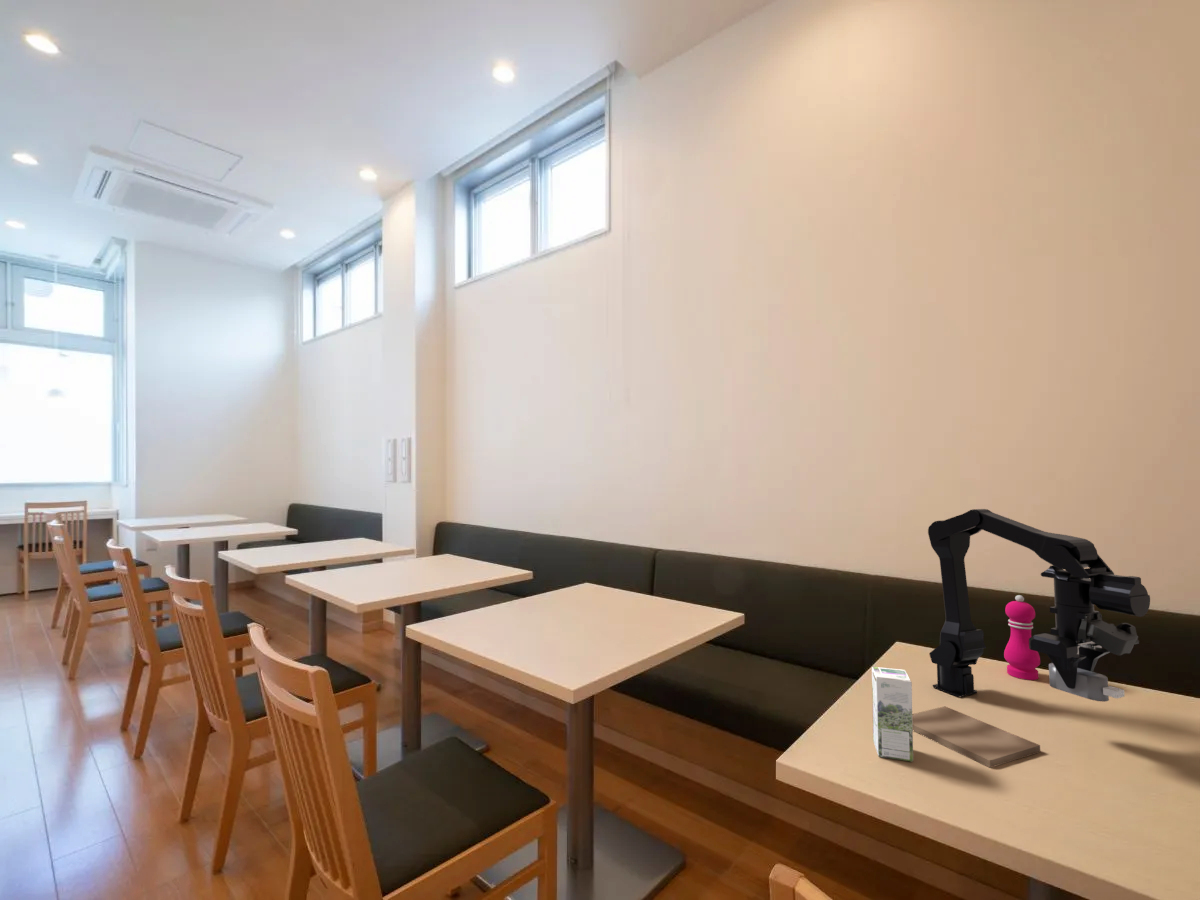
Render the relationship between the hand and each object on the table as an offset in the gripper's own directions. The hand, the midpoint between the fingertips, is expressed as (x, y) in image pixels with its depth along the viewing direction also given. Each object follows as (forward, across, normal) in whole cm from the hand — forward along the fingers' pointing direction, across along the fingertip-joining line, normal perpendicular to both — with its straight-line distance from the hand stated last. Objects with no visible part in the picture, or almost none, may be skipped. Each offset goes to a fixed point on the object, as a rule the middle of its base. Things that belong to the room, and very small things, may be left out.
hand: (1077, 686), depth 103 cm
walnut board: (+10, -19, +9) cm, 23 cm away
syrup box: (+10, -37, +10) cm, 40 cm away
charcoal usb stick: (+1, 0, 0) cm, 1 cm away
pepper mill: (+10, +26, +25) cm, 38 cm away
